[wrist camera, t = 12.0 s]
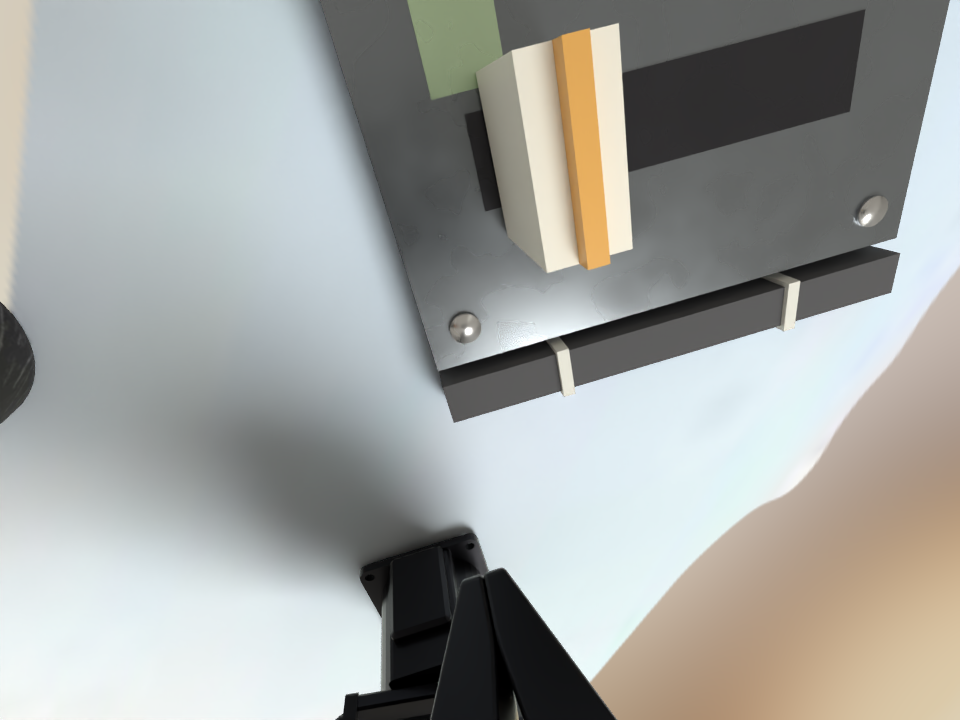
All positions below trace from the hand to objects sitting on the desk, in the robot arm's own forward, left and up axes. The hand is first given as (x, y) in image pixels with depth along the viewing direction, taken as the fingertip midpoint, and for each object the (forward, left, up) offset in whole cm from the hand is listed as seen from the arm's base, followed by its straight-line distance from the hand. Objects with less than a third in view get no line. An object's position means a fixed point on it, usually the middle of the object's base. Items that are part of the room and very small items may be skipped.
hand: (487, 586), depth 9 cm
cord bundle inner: (-2, -10, -12) cm, 16 cm away
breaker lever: (+6, -5, -10) cm, 13 cm away
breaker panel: (+6, -10, -12) cm, 17 cm away
